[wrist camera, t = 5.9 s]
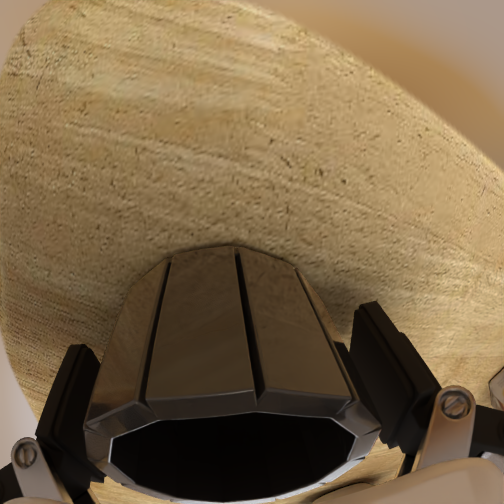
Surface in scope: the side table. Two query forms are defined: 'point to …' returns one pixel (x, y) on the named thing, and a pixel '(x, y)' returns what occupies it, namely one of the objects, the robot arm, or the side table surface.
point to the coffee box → (497, 391)
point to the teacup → (344, 492)
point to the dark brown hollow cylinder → (226, 385)
